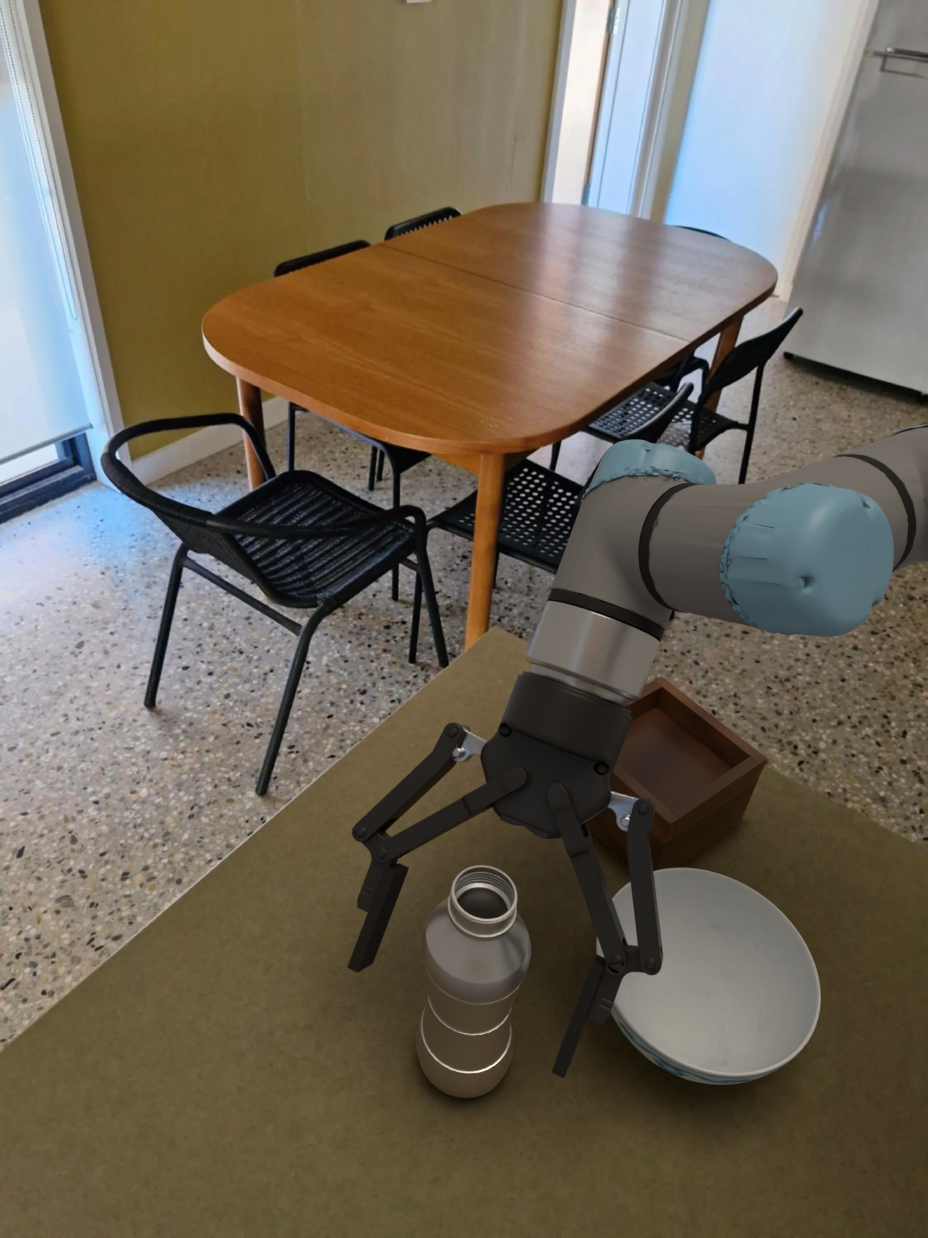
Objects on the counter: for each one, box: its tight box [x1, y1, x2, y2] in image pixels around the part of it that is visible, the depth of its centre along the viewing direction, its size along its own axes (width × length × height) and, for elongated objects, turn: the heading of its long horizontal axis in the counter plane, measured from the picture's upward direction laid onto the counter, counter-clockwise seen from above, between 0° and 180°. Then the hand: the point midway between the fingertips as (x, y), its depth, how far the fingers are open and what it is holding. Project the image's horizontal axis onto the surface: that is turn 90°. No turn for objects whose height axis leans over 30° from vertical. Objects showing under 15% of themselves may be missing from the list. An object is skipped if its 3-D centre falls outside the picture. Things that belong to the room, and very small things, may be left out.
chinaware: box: [595, 867, 822, 1086], centre depth 63 cm, size 15×15×8 cm
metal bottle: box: [414, 864, 532, 1099], centre depth 55 cm, size 6×7×20 cm
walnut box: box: [586, 676, 768, 871], centre depth 77 cm, size 12×12×8 cm
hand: (456, 1015), depth 54 cm, fingers open, 13 cm apart
